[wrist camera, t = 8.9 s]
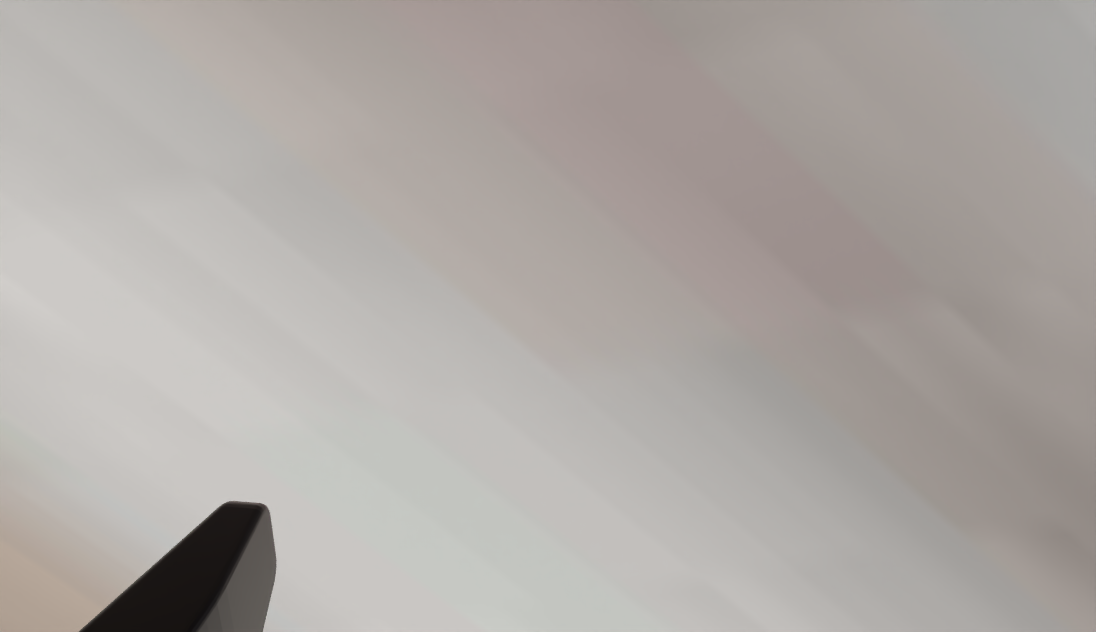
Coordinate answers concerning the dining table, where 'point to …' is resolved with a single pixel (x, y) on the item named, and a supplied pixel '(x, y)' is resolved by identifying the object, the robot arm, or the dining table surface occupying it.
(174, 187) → the dining table surface
